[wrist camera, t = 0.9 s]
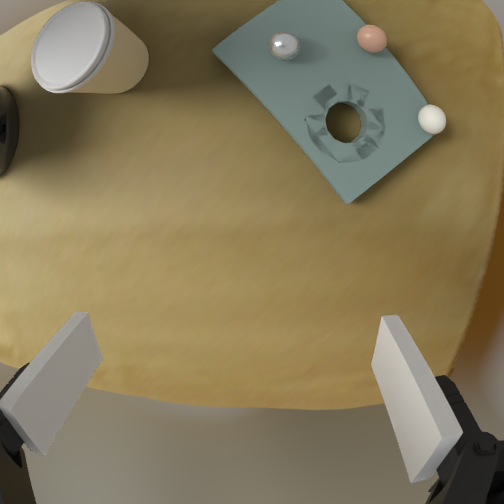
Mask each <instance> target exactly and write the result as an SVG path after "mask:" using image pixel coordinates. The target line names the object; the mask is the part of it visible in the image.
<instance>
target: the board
mask: <svg viewBox="0 0 504 504" xmlns="http://www.w3.org/2000/svg"><path fill="white" fill-rule="evenodd" d="M365 25H366V24H365V23H364V22H363V20H362V19H361V18H360V17H359V16H358V15H357V14H356V13H355V12H354V11H353V10H352V9H351V8H350V7H349V6H348V5H347V4H346V3H345V2H344V1H343V0H279V1H277V2H276V3H274V4H273V5H271V6H270V7H268V8H267V9H265V10H264V11H262V12H261V13H259V14H258V15H256V16H255V17H254V18H252V19H251V20H249V21H248V22H247V23H245V24H244V25H242V26H241V27H240V28H238V29H237V30H236V31H234V32H233V33H232V34H231V35H229V36H228V37H227V38H225V39H224V40H223V41H222V42H220V43H219V44H218V45H217V46H215V47H214V48H213V49H212V52H213V53H214V55H215V56H216V57H217V58H218V59H219V60H220V61H221V62H222V63H223V64H224V65H225V66H226V67H227V68H228V69H229V70H230V71H231V72H232V73H233V74H234V75H235V76H236V77H237V78H238V79H239V80H240V81H241V82H242V83H243V84H244V85H245V86H246V87H247V88H248V89H249V90H250V91H251V93H252V94H253V95H254V96H255V97H256V98H257V99H258V100H259V101H260V102H261V103H262V104H263V105H264V107H265V108H266V109H267V110H268V111H269V112H270V113H271V114H272V115H273V117H274V118H275V119H276V120H277V121H278V122H279V123H280V124H281V126H282V127H283V128H284V129H285V130H286V131H287V133H288V134H289V135H290V136H291V137H292V138H293V140H294V141H295V142H296V143H297V144H298V145H299V147H300V148H301V149H302V150H303V151H304V153H305V154H306V155H307V156H308V158H309V159H310V160H311V161H312V162H313V164H314V165H315V166H316V167H317V169H318V170H319V171H320V172H321V174H322V175H323V176H324V177H325V179H326V180H327V181H328V183H329V184H330V185H331V186H332V188H333V189H334V190H335V192H336V193H337V194H338V195H339V197H340V198H341V199H342V201H343V202H344V203H346V204H347V205H348V204H349V203H351V202H352V201H353V200H354V199H356V198H357V197H358V196H359V195H361V194H362V193H363V192H364V191H366V190H367V189H368V188H370V187H371V186H372V185H373V184H375V183H376V182H377V181H378V180H380V179H381V178H382V177H383V176H385V175H386V174H387V173H388V172H389V171H391V170H392V169H393V168H394V167H396V166H397V165H398V164H399V163H401V162H402V161H403V160H404V159H406V158H407V157H408V156H409V155H410V154H412V153H413V152H414V151H415V150H417V149H418V148H419V147H420V146H422V145H423V144H424V143H425V142H426V141H428V140H429V139H430V138H431V137H433V136H434V135H435V134H431V133H428V132H426V131H425V130H423V129H422V127H421V126H420V124H419V121H418V115H419V112H420V110H421V109H422V108H423V107H424V106H426V105H429V104H428V103H427V101H426V100H425V98H424V97H423V95H422V94H421V92H420V91H419V90H418V88H417V87H416V85H415V84H414V83H413V81H412V80H411V78H410V77H409V76H408V74H407V73H406V72H405V70H404V69H403V68H402V66H401V65H400V64H399V63H398V61H397V60H396V59H395V57H394V56H393V55H392V54H391V53H390V51H389V50H388V49H387V48H386V47H385V48H384V49H383V50H382V51H380V52H377V53H371V52H367V51H365V50H364V49H362V48H361V47H360V45H359V44H358V42H357V32H358V30H359V29H360V28H361V27H363V26H365ZM280 31H288V32H291V33H293V34H294V35H296V36H297V38H298V39H299V41H300V44H301V48H300V52H299V54H298V55H297V56H296V57H295V58H293V59H291V60H287V61H283V60H279V59H276V58H275V57H273V56H272V55H271V54H270V52H269V50H268V41H269V39H270V37H271V36H272V35H273V34H275V33H277V32H280ZM339 103H344V104H347V105H349V106H351V107H353V108H354V109H355V110H356V112H357V113H358V114H359V116H360V120H361V129H360V132H359V134H358V136H357V137H356V138H354V139H353V140H352V141H351V142H345V143H342V142H340V141H338V140H335V139H334V138H333V137H332V135H331V134H330V133H329V132H328V130H327V126H326V121H325V118H326V115H327V112H328V110H329V108H330V107H331V106H333V105H334V104H339Z"/></svg>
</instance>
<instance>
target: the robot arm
mask: <svg viewBox="0 0 504 504" xmlns="http://www.w3.org/2000/svg"><path fill="white" fill-rule="evenodd" d="M18 130H19V118H18V110H17V106H16V102H15V100H14V98H13V96H12V94H11V93H10V92H9V91H8V90H7V89H6V88H4V87H1V86H0V175H1V174H2V173H3V172H4V171H5V170H6V169H7V167H8V165H9V164H10V162H11V160H12V157H13V155H14V152H15V148H16V144H17V139H18ZM102 360H103V356H102V354H101V351H100V348H99V345H98V342H97V339H96V336H95V333H94V330H93V327H92V323H91V320H90V317H89V313H85V312H75V313H74V314H73V315H72V316H71V317H70V318H69V319H68V321H67V322H66V323H65V324H64V325H63V326H62V327H61V328H60V329H59V330H58V332H57V333H56V334H55V335H54V336H53V337H52V338H51V339H50V341H49V342H48V343H47V344H46V345H45V346H44V347H43V349H42V350H41V351H40V352H39V353H38V354H37V355H36V357H35V358H34V359H33V360H32V361H31V363H27V364H26V365H24V366H23V367H22V368H20V369H19V370H18V371H17V373H16V374H15V375H14V378H12V379H11V380H10V381H9V384H7V385H6V386H5V387H4V388H3V390H2V391H1V392H0V504H36V501H35V497H34V493H33V490H32V486H31V482H30V478H29V473H28V468H27V464H26V458H25V453H24V450H23V449H22V447H21V446H22V445H23V443H25V444H26V445H27V447H28V448H29V449H30V451H32V452H34V453H36V454H39V455H41V456H45V455H46V453H47V451H48V450H49V448H50V446H51V444H52V442H53V440H54V439H55V437H56V435H57V434H58V432H59V430H60V428H61V427H62V425H63V423H64V422H65V420H66V418H67V416H68V415H69V413H70V411H71V410H72V408H73V406H74V405H75V403H76V401H77V400H78V398H79V396H80V395H81V393H82V392H83V390H84V388H85V387H86V385H87V383H88V382H89V380H90V379H91V377H92V375H93V374H94V372H95V371H96V369H97V368H98V366H99V364H100V363H101V361H102ZM371 366H372V369H373V372H374V374H375V377H376V380H377V383H378V385H379V388H380V391H381V394H382V396H383V399H384V402H385V405H386V407H387V411H388V413H389V416H390V419H391V422H392V425H393V428H394V431H395V434H396V437H397V441H398V444H399V447H400V450H401V453H402V456H403V460H404V463H405V466H406V469H407V473H408V476H409V479H410V483H414V482H418V481H422V480H426V479H429V478H431V476H432V475H433V474H434V473H435V471H436V470H437V472H438V475H439V479H438V480H437V481H436V482H435V484H434V485H433V486H432V487H431V488H430V489H429V492H431V491H432V492H431V494H430V496H429V498H428V499H427V501H426V503H425V504H504V441H498V440H497V439H496V438H495V436H493V435H492V434H490V433H488V432H482V431H481V430H480V428H479V426H478V424H477V423H476V421H475V419H474V417H473V415H472V413H471V411H470V410H469V408H468V406H467V405H466V403H464V399H463V397H462V395H460V392H459V390H458V389H457V387H456V385H455V383H454V382H453V381H451V380H450V379H449V378H448V377H447V376H445V375H442V376H437V377H434V375H433V374H432V372H431V370H430V368H429V366H428V365H427V363H426V361H425V359H424V358H423V356H422V354H421V353H420V351H419V349H418V347H417V346H416V344H415V342H414V341H413V339H412V337H411V336H410V334H409V332H408V331H407V329H406V327H405V326H404V324H403V323H402V321H401V319H400V318H399V316H398V315H390V316H382V318H381V323H380V328H379V332H378V337H377V342H376V346H375V350H374V355H373V359H372V363H371Z"/></svg>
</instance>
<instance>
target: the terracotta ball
mask: <svg viewBox="0 0 504 504" xmlns="http://www.w3.org/2000/svg"><path fill="white" fill-rule="evenodd" d="M357 42H358V44H359V45H360V47H361V48H362V49H364V50H365V51H367V52H371V53H377V52H380V51H382V50H383V49H384V48H385V47H386V45H387V36H386V34H385V32H384V31H383V30H382V29H381V28H380V27H378V26H375V25H365V26H363V27H361V28H360V29H359V30H358V32H357Z"/></svg>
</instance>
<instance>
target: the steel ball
mask: <svg viewBox="0 0 504 504" xmlns="http://www.w3.org/2000/svg"><path fill="white" fill-rule="evenodd" d="M300 48H301V44H300V41H299V39H298V38H297V36H296V35H294V34H293V33H291V32H288V31H280V32H277V33H275V34H273V35H272V36H271V37H270V39H269V41H268V50H269V52H270V54H271V55H272V56H273V57H275V58H276V59H279V60H283V61H287V60H291V59H293V58H295V57H296V56H297V55H298V54H299V52H300Z"/></svg>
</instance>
